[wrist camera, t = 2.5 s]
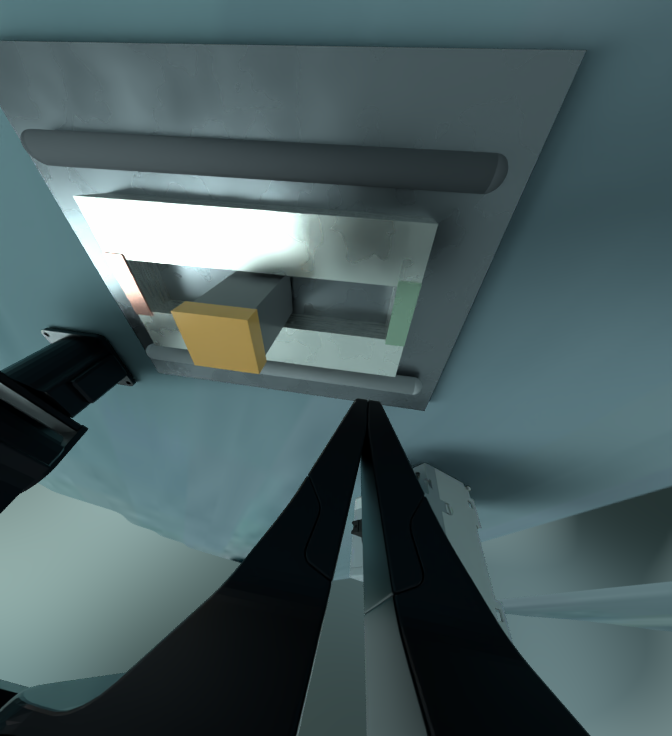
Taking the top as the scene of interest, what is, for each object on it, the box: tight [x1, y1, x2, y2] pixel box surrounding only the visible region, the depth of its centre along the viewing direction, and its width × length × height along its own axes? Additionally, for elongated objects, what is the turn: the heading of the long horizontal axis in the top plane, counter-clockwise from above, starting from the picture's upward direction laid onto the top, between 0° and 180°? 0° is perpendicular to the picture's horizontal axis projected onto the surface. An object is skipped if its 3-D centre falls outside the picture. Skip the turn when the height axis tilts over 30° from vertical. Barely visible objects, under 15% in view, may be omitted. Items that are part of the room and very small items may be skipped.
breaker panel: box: [0, 41, 586, 411], centre depth 16 cm, size 26×20×3 cm
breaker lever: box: [171, 271, 293, 374], centre depth 13 cm, size 3×3×6 cm
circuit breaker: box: [349, 463, 512, 642], centre depth 25 cm, size 8×14×15 cm, turn 57°
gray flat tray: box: [20, 129, 508, 395], centre depth 15 cm, size 23×14×1 cm, turn 88°
